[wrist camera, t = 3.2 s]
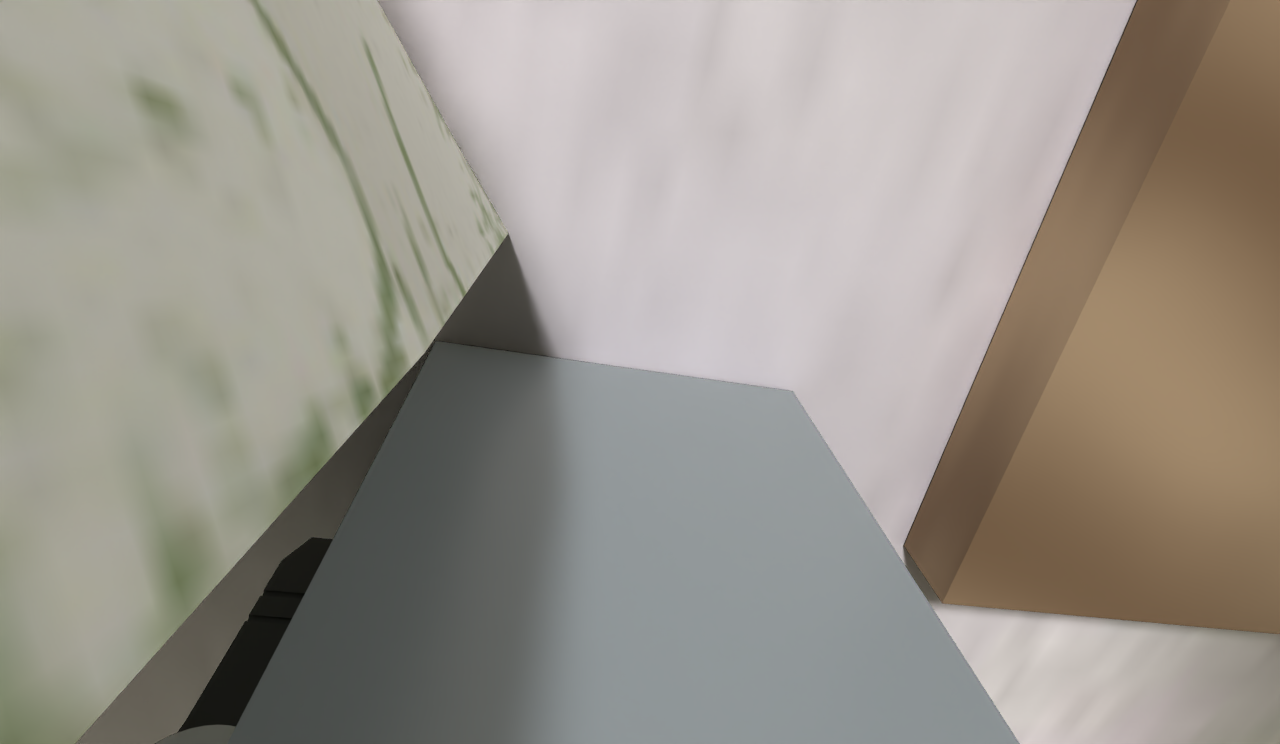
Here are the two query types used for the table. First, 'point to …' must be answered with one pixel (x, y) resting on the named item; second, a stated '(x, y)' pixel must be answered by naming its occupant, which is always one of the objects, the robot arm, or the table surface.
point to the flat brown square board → (1137, 355)
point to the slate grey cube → (610, 578)
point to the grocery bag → (195, 303)
